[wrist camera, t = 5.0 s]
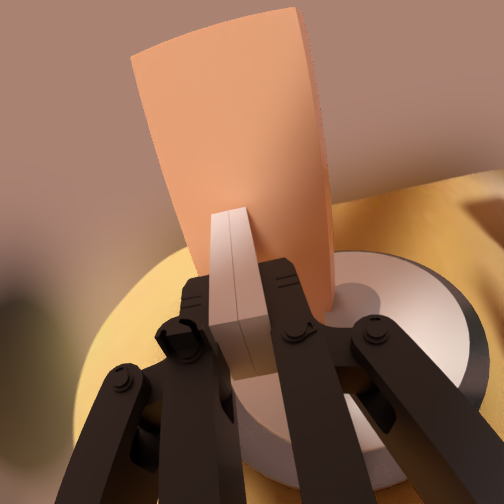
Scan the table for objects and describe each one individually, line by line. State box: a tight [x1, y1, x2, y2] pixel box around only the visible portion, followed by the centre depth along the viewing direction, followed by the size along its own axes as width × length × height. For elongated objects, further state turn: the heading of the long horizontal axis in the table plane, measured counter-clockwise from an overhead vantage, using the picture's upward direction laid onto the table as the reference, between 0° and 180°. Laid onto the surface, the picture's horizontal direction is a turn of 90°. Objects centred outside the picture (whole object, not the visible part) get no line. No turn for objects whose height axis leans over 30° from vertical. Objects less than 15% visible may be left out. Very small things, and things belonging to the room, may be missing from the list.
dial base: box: [231, 251, 490, 492], centre depth 17 cm, size 19×19×4 cm
